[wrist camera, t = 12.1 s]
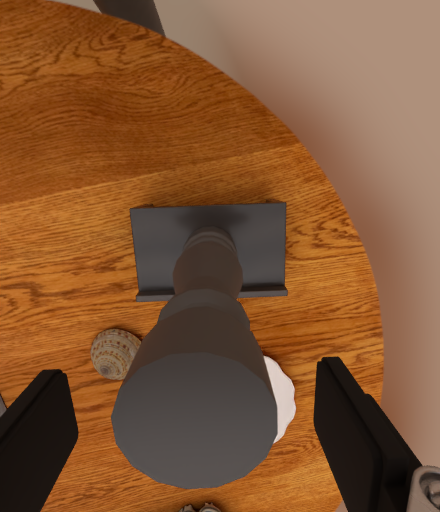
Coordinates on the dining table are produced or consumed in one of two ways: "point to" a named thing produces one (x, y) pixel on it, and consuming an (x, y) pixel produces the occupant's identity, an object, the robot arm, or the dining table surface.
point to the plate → (281, 395)
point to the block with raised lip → (218, 215)
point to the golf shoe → (206, 511)
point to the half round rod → (2, 407)
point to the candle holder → (198, 378)
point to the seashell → (114, 353)
